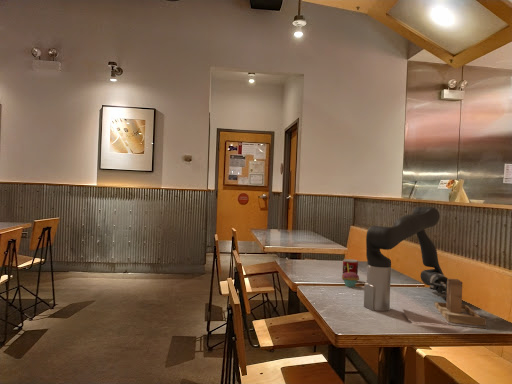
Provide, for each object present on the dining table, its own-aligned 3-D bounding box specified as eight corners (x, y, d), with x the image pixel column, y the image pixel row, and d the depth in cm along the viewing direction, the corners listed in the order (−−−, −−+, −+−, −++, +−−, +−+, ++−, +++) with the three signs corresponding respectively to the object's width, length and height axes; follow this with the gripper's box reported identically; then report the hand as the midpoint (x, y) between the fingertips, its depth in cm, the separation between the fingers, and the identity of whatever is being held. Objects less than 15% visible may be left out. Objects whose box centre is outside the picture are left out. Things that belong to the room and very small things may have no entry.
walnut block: (446, 307, 157) (447, 278, 157) (457, 309, 156) (458, 279, 156) (450, 312, 151) (451, 281, 151) (461, 313, 150) (462, 282, 150)
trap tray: (434, 308, 160) (434, 299, 160) (466, 311, 157) (466, 302, 157) (448, 325, 138) (448, 314, 138) (485, 329, 135) (485, 318, 136)
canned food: (339, 279, 211) (340, 259, 211) (351, 278, 215) (351, 258, 215) (348, 282, 204) (349, 261, 205) (360, 281, 208) (361, 261, 208)
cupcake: (346, 288, 191) (347, 263, 191) (338, 284, 199) (339, 260, 199) (362, 287, 193) (362, 263, 193) (353, 283, 201) (354, 260, 201)
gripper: (425, 273, 177) (433, 281, 160) (456, 276, 174) (468, 284, 157) (424, 290, 177) (433, 299, 160) (455, 292, 174) (468, 302, 157)
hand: (450, 291), depth 158 cm, fingers closed
